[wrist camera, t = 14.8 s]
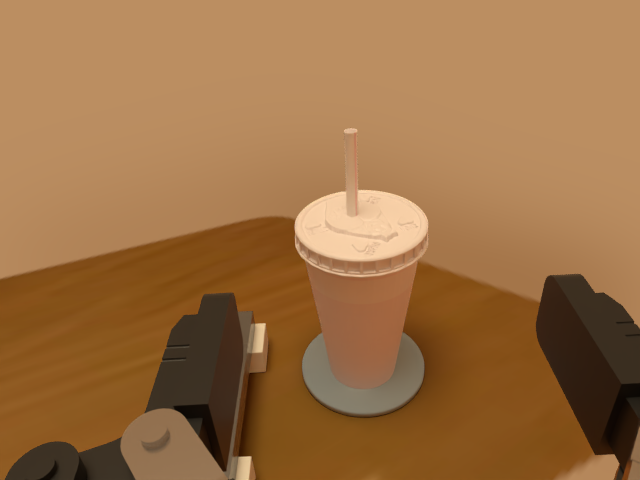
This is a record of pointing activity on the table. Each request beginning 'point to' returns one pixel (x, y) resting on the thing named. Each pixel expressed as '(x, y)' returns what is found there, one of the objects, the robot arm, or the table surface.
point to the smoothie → (361, 272)
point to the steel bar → (241, 391)
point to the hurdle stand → (258, 364)
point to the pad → (363, 400)
